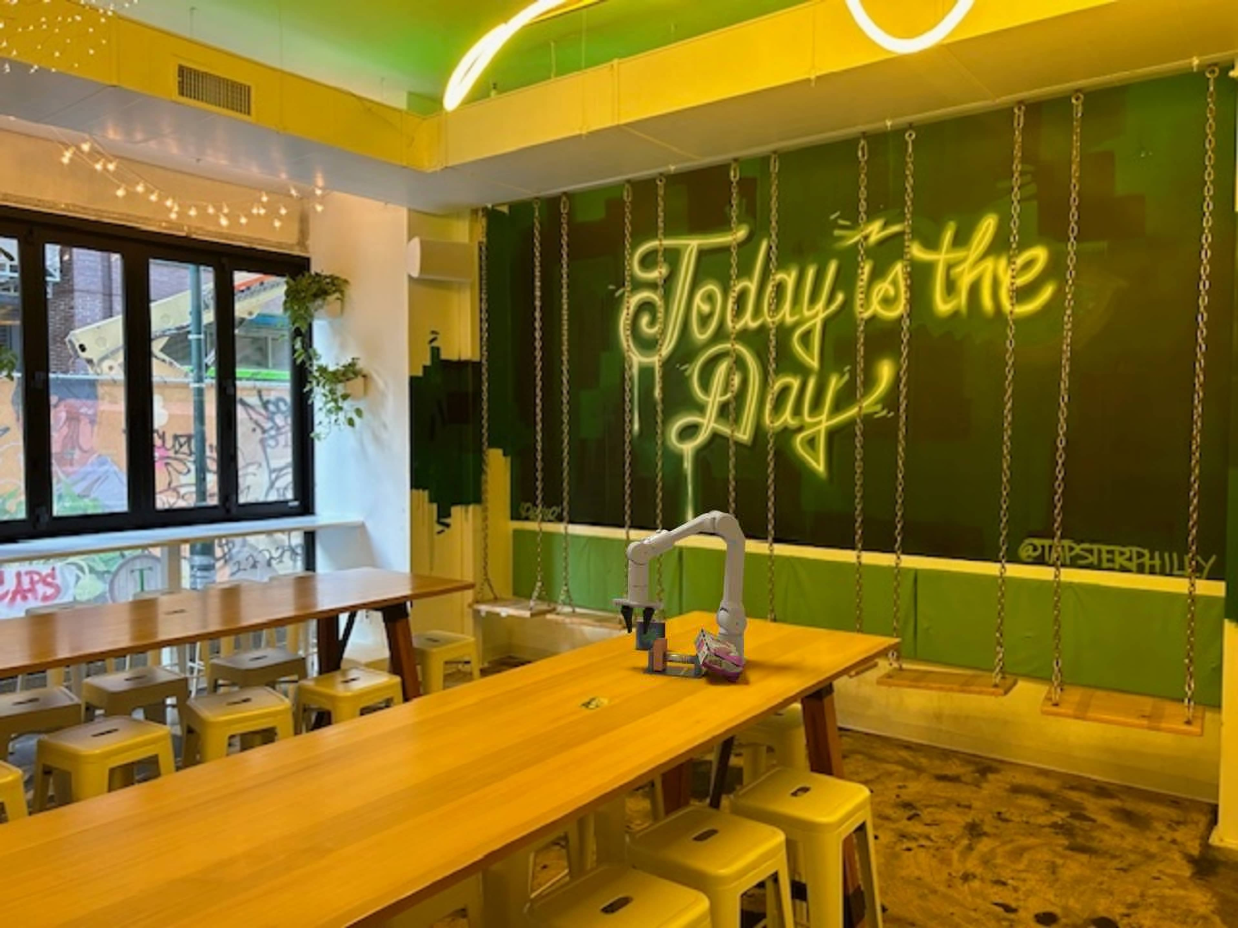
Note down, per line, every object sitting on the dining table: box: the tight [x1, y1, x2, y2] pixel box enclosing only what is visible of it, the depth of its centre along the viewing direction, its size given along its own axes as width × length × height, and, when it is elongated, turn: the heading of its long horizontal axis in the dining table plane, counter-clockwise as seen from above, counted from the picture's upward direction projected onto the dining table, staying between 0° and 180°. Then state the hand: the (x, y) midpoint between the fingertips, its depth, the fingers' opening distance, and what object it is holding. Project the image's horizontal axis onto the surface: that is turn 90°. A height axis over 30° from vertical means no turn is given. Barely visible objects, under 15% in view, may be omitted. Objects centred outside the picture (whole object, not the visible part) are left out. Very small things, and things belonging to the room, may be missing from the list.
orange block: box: [653, 637, 668, 671], centre depth 259 cm, size 6×2×8 cm, turn 163°
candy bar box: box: [693, 628, 745, 683], centre depth 254 cm, size 11×5×16 cm
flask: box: [635, 615, 666, 652], centre depth 282 cm, size 9×3×11 cm, turn 76°
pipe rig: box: [642, 648, 708, 679], centre depth 258 cm, size 9×16×6 cm, turn 73°
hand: (637, 633), depth 260 cm, fingers open, 4 cm apart
